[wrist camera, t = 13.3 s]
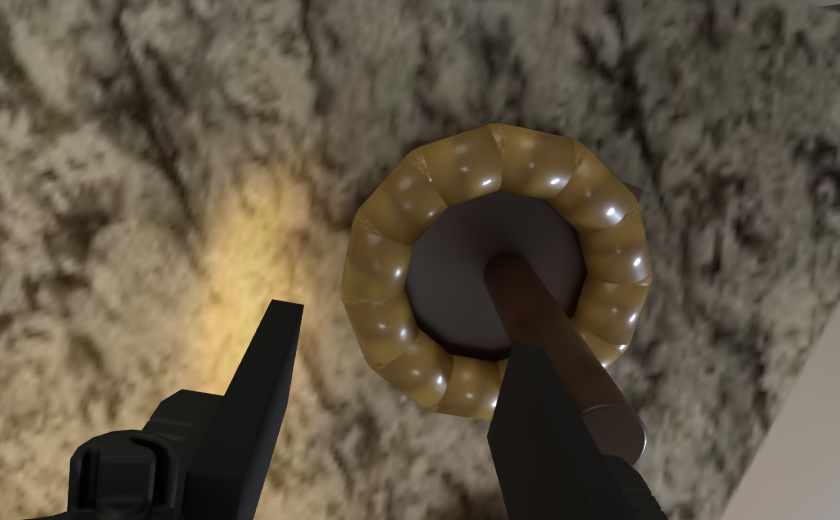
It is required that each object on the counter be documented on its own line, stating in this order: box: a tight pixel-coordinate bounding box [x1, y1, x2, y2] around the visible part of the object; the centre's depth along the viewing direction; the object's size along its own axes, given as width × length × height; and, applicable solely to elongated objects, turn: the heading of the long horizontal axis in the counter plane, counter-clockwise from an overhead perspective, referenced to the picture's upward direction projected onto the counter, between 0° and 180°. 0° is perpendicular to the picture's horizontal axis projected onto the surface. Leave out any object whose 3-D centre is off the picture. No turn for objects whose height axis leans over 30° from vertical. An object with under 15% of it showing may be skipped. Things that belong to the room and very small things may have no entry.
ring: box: [340, 123, 653, 421], centre depth 24 cm, size 12×12×2 cm
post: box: [404, 140, 646, 467], centre depth 21 cm, size 9×9×14 cm
